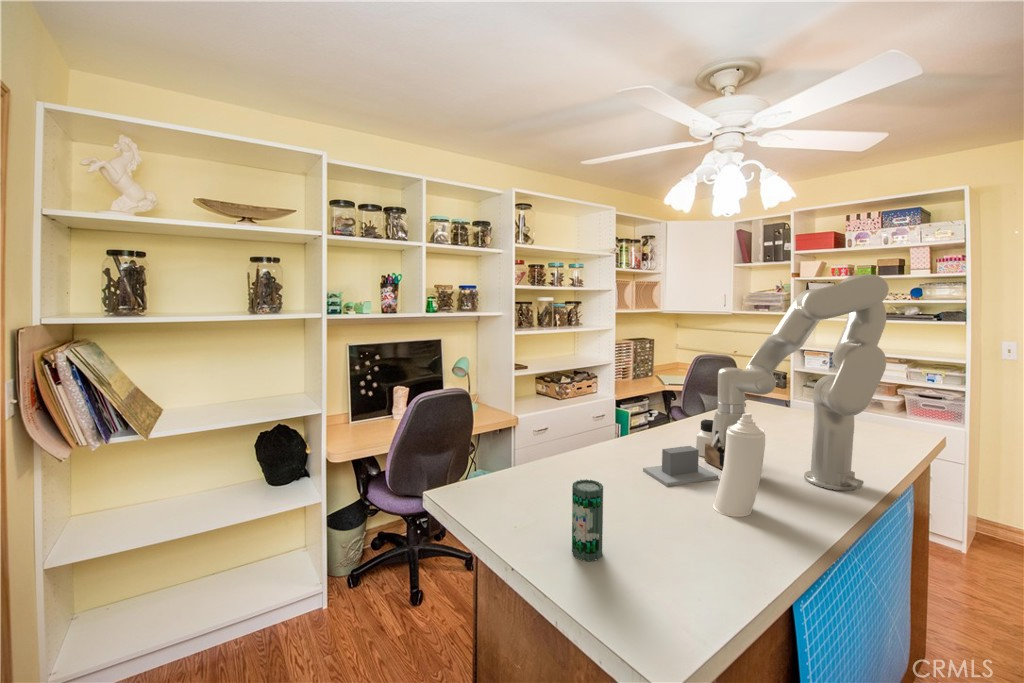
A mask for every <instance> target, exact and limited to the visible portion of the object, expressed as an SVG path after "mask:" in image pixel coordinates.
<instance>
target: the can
mask: <svg viewBox="0 0 1024 683" xmlns="http://www.w3.org/2000/svg"><path fill="white" fill-rule="evenodd" d="M571 492H572V497H571V498H572V501H571V503H572V504H571V505H572V506H571V507H572V508H571V510H572V513H571V515H572V516H571V522H572V523H571V524H572V525H571V527H572V528H571V553H572V552H573V553H572V555H575V556H576V557H577V558H579V559H578V560H580V559H582V560H585V561H586V560H587V561H586V562H588V561H589V560H590V561H589V562H595V561H599V560H600V559H601V558H602V557H603V533H604V532H603V531H604V530H603V528H604V526H603V525H604V524H603V523H604V521H603V520H604V518H603V517H604V516H603V515H604V485H603V484H602V483H601V482H599V481H596V480H593V479H587V478H586V479H579V480H576V481H574V482H572V491H571ZM575 556H574V557H575ZM576 557H575V558H576ZM577 558H576V559H577ZM595 559H597V560H595ZM582 560H581V561H582ZM592 560H593V561H592Z"/></svg>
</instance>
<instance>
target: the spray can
mask: <svg viewBox="0 0 1024 683" xmlns="http://www.w3.org/2000/svg"><path fill="white" fill-rule="evenodd" d="M752 417H753V414H752V413H751V412H746V413H745V414H742V418H740V420H739V421H737V424H735V425H731V426H728V429H727V431H726V446H725V457H724V467H723V469H722V470H721V476H720V479H719V483H718V487H717V491H716V496H715V498H714V502H713V504H712V508H713V510H715V511H716V512H717V513H719V514H722V515H723V516H728V517H735V518H744V517H748V516H749V515H751V513H752V510H753V508H754V505H755V502H756V499H757V498H756V497H757V494H758V491H759V490H758V489H759V486H760V481H761V477H762V473H763V464H764V457H765V449H766V434H765V430H764V429H763V428H761V427H759V426H758V425H757V424H756V422H754V420H753V418H752Z"/></svg>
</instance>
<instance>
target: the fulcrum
mask: <svg viewBox="0 0 1024 683" xmlns="http://www.w3.org/2000/svg"><path fill="white" fill-rule="evenodd" d="M661 451H662V452H661V456H662V457H661V465H657V466H655V465H654V466H648V467H643V468H642V472H644V473H645V474H646V475H649V476H650V477H651V478H653V479H654V480H656V481H658V482H659V483H661V484H662V485H664V486H665V487H671V486H678V485H685V484H691V483H697V482H698V483H700V482H704V481H712V479H713V480H718V479H719V475H718V474H716V473H714V472H713V471H711V470H709V469H707V468H704V467H703V466H701V465H699V457H700V456H699V450H698V449H696V447H694V446H691V445H686V446H685V445H684V446H677V447H675V446H674V447H668V448H662V450H661Z"/></svg>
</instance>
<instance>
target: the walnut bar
mask: <svg viewBox="0 0 1024 683" xmlns="http://www.w3.org/2000/svg"><path fill="white" fill-rule="evenodd" d="M711 443H712V442H711ZM711 443H705V457H704V462H706V463H708V464H710V465H712V466H714V467H715V468H716V467H717V468H719V469H721V470H723V467H722V466H720V453H718V451H717V450H716V449H714V448H713V447H711ZM718 446H719V443H718ZM722 449H724V447H723V448H722Z"/></svg>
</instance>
